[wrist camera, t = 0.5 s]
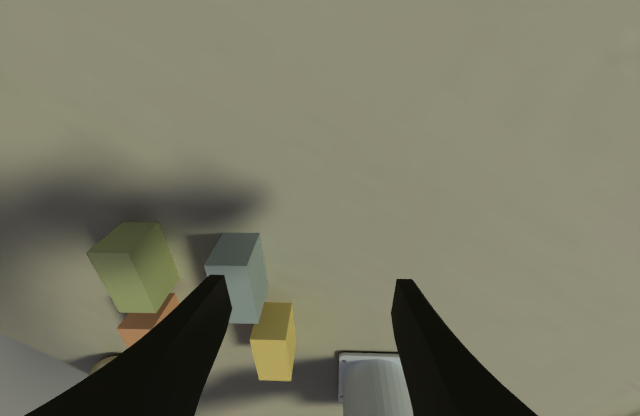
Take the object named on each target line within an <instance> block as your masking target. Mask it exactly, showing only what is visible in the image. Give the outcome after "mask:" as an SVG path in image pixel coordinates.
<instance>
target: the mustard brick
mask: <svg viewBox="0 0 640 416" xmlns="http://www.w3.org/2000/svg"><path fill="white" fill-rule="evenodd" d="M250 343H251V348H252V352H253V356H254V360H255V365H256V369H257V373H258V377H259V380H270V381H291V378H292V370H293V363H294V355H295V347H296V337H295V328H294V318H293V309H292V303H269V302H264V305H263V309H262V313H261V316H260V320H259V324H254V326H253V329H252V333H251V336H250Z"/></svg>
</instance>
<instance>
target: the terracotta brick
mask: <svg viewBox="0 0 640 416" xmlns="http://www.w3.org/2000/svg"><path fill="white" fill-rule="evenodd" d="M178 305H179V302H178V300H177V297H176V295H175V293H169V295H168V296H167V298H166V299H165V301H164V302H163V304H162V305H161V307H160V308H159V310H158V311H157V313H128V315H127V316H126V317H125V319H124V320H123V321H122V323H121V324H120V325H119V326H118V328H117V330H118V332H119V333H120V335H121V337H122V338H123V340H124V342H125V343H126V345H127V347H128V348H129V347H130V346H132V345H133V344H134V343H136V342H137V341H138V340H139V339H141V338H142V337H143V336H144V335H145V334H147V333H148V332H149V331H150V330H151V329H152V328H154V327H155V326H156V325H157V324H158V323H159V322H160V321H162V320H163V319H164V318H165V317H166V316H167V315H168V314H169V313H170V312H171V311H173V310H174V309H175V308H176V307H177V306H178Z"/></svg>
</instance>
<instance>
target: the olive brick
mask: <svg viewBox="0 0 640 416" xmlns="http://www.w3.org/2000/svg"><path fill="white" fill-rule="evenodd" d="M86 254H87V256H88V258H89V259H90V261H91V263H92V265H93V266H94V268H95V270H96V272H97V274H98V275H99V277H100V279H101V281H102V283H103V284H104V286H105V288H106V290H107V291H108V293H109V295H110V297H111V299H112V300H113V302H114V304H115V306H116V307H117V309H118V311H119V313H157V311H158V310H159V308H160V307H161V305H162V304H163V302H164V301H165V299H166V298H167V296H168V295H169V293H170V292H171V290H172V288H173V287H174V285H175V284H176V282H177V281H178V279H179V275H178V272H177V270H176V267H175V264H174V261H173V259H172V256H171V253H170V251H169V248H168V245H167V242H166V240H165V237H164V234H163V232H162V229H161V226H160V223H159V222H122V223H121V224H120V225H119V226H117V227H116V228H115V229H114V230H113V231H111V232H110V233H109V234H108V235H107V236H106V237H104V238H103V239H102V240H101V241H100V242H98V243H97V244H96V245H95V246H94V247H92V248H91V249H90V250H89V251H88V252H87V253H86Z"/></svg>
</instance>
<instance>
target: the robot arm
mask: <svg viewBox="0 0 640 416" xmlns="http://www.w3.org/2000/svg"><path fill="white" fill-rule="evenodd" d="M231 312H232V305H231V301H230V297H229V293H228V289H227V284H226V280H225V276H224V275H209V276H208V277H207V278H206V279H205V280H204V281H203V282H202V283H201V284H200V285H199V286H198V287H197V288H196V289H195V290H193V291H192V292H191V293H190V294H189V295H188V296H187V297H186V298H185V299H184V300H183V301H182V302H181V303H180V304H179V305H178V306H177V307H176V308H175V309H174V310H173V311H171V312H170V313H169V314H168V315H167V316H166V317H165V318H164V319H163V320H162V321H160V322H159V323H158V324H157V325H156V326H155V327H154V328H152V329H151V330H150V331H149V332H148V333H147V334H145V335H144V336H143V337H142V338H141V339H139V340H138V341H137V342H136V343H134V344H133V345H132V346H130V347H129V348H128V349H126V350H125V351H124V352H123V353H121V354H120V355H119V356H117V357H116V358H114V359H113V360H112V361H110V362H109V363H107V364H106V365H104V366H103V367H101V368H100V369H99V370H97V371H96V372H94V373H93V374H91V375H90V376H88V377H87V378H85V379H84V380H83V381H81V382H79V383H78V384H76V385H75V386H73V387H71V388H70V389H68V390H67V391H65V392H64V393H62V394H60V395H59V396H57V397H55V398H54V399H52V400H50V401H49V402H47V403H46V404H44V405H42V406H40V407H39V408H37V409H35V410H34V411H32V412H30V413H28V414H26V415H25V416H194V415H195V411H196V408H197V405H198V402H199V399H200V396H201V393H202V390H203V388H204V385H205V383H206V380H207V378H208V375H209V373H210V370H211V368H212V366H213V363H214V361H215V358H216V356H217V353H218V351H219V348H220V346H221V343H222V341H223V338H224V336H225V333H226V330H227V327H228V323H229V319H230V315H231ZM391 316H392V324H393V331H394V337H395V342H396V346H397V350H398V353H399V354H381V353H345V352H344V353H340V354H339V387H338V401H339V402H340V403H343V416H538V415H536V414H535V413H534V412H533V411H532V410H531V409H529V408H528V407H527V406H526V405H525V404H524V403H523V402H521V401H520V400H519V399H518V398H517V397H516V396H515V395H513V394H512V393H511V392H510V391H509V390H508V389H507V388H506V387H504V386H503V385H502V384H501V383H500V382H499V381H498V380H497V379H496V378H495V377H494V376H493V375H492V374H491V373H490V372H489V371H488V370H487V369H486V368H485V367H484V366H483V365H482V364H481V363H480V362H479V361H478V360H477V359H476V358H475V357H474V356H473V355H472V354H471V353H470V352H469V351H468V350H467V348H466V347H465V346H464V345H463V344H462V343H461V342H460V341H459V339H458V338H457V337H456V336H455V335H454V334H453V332H452V331H451V330H450V329H449V328H448V326H447V325H446V324H445V323H444V321H443V320H442V319H441V318H440V316H439V315H438V314H437V313H436V311H435V310H434V309H433V307H432V306H431V305H430V303H429V302H428V301H427V299H426V298H425V296H424V295H423V294H422V292H421V291H420V289H419V288H418V286H417V285H416V284H415V282H414V281H413V280H412V279H397V281H396V287H395V293H394V299H393V305H392V311H391Z"/></svg>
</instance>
